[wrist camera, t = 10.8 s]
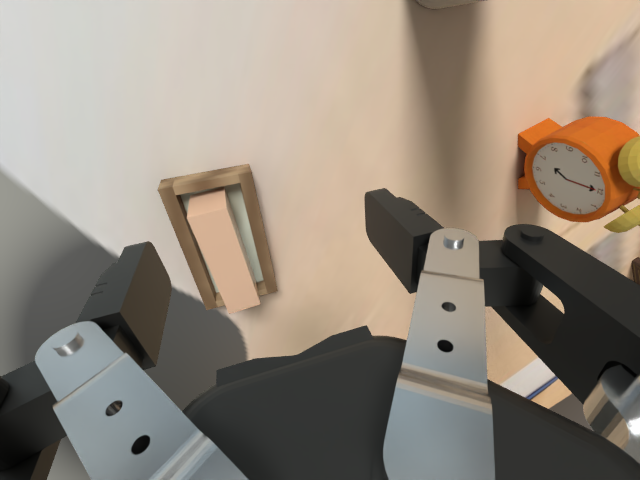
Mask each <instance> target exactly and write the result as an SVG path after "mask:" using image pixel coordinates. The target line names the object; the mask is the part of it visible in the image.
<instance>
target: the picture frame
mask: <svg viewBox="0 0 640 480" xmlns="http://www.w3.org/2000/svg"><path fill="white" fill-rule="evenodd" d="M221 187H225V190H226V193H227V196H228V199H229V202H230V205H231V207H232V210H233V213H234V216H235V219H236V222H237V225H238V228H239V231H240V234H241V237H242V240H243V243H244V245H245V248H246V251H247V254H248V257H249V260H250V263H251V266H252V269H253V272H254V275H255V279H256V284H257V289H258V294H259V296H261V295H265V294H269V293H272V292H276V291H278V290H277V285H276V281H275V276H274V272H273V267H272V263H271V258H270V254H269V249H268V245H267V240H266V236H265V231H264V227H263V222H262V218H261V213H260V209H259V204H258V199H257V195H256V190H255V186H254V181H253V177H252V172H251V169H250V166H249V164H246V165H240V166H235V167H229V168H224V169H218V170H213V171H208V172H202V173H197V174H191V175H186V176H180V177H175V178H169V179H164V180H161V182H160V185H159V188H158V191H159V194H160V196H161V199H162V201H163V204H164V206H165V209H166V211H167V214H168V216H169V218H170V221H171V223H172V226H173V228H174V231H175V233H176V236H177V238H178V241H179V243H180V246H181V248H182V250H183V253H184V255H185V258H186V260H187V263H188V265H189V268H190V270H191V273H192V275H193V278H194V280H195V282H196V285H197V287H198V290H199V292H200V295H201V297H202V300H203V302H204V305H205V307H206V309H207V310H209V309H213V308H216V307H220V306H224V305H225V303H224V301H223V299H222V296H221V294H220V292H219V290H218V287H217V285H216V283H215V281H214V278H213V276H212V274H211V272H210V269H209V267H208V265H207V263H206V260H205V258H204V256H203V253H202V251H201V249H200V247H199V244H198V242H197V240H196V238H195V235H194V233H193V231H192V229H191V226H190V224H189V222H188V220H187V213H188V206H189V199H190V195H193V194H197V193H201V192H205V191H209V190H213V189H217V188H221Z"/></svg>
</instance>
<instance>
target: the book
mask: <svg viewBox="0 0 640 480" xmlns="http://www.w3.org/2000/svg"><path fill="white" fill-rule="evenodd" d="M632 269H633V277H634V282H635V283H637V284H638V285H640V258H636V259H634V260H633V261H632Z"/></svg>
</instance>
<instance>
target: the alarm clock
mask: <svg viewBox="0 0 640 480" xmlns="http://www.w3.org/2000/svg"><path fill="white" fill-rule="evenodd" d="M518 147H519V148H520V149H521V150H523V151H524V152H525V153H526V154H527V155H526V158H525V164H524V172H525V175H524V176H522V177H520V178H519V179H518V189H530V191H531V192H532V194H533V195H534V197H535V198H536V199H537V201H538V202H539V203H540V204H541V205H542V206H543V207H544V208H546V209H547V210H548V211H550V212H551V213H553V214H554V215H556V216H558V217H560V218H563V219H566V220H569V221H573V222H589V221H593V220H597V219H600V218H602V217H604V216H606V215H607V214H609V213H611V212H613V211H615V210H617V209H618V208H620V209H621V210H622V211H623V212H624V213H625V214H623V215H621V216H620V217H618V218H616V219H615V220H613V221H611V222H610V223H608V224H607V225H605V226H604V228H606V229H608V230H610V231H612V232H617V233H620V232H625V231H628V230H630V229H632V228H633V227H635V226H637V225H639V226H640V205H639V206H637V207H635V208H633V209H632V210H630V211H629V210H628V209H627V208H626V207H624V205H626V204H628V203H630V202H631V201H633V200H635V199H636V198H638V199H640V136H639V134H638V133H637V132H635V131H634V130H632V129H631V128H629V127H628V126H626V125H625V124H624V123H622V122H619V121H616V120H613V119H610V118H607V117H586V118H582V119H579V120H576V121H573V122H571V123H570V124H568V125H566V126H564V127H561V126H560V125H558V124H557V123H555V122H554V121H553V120H551V119H550V118H548V119H546V120H544V121H542V122H540V123H538V124H536V125H535V126H533V127H531V128H529V129H527V130H525V131H523V132H521V133H519V134H518Z"/></svg>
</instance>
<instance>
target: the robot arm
mask: <svg viewBox="0 0 640 480" xmlns="http://www.w3.org/2000/svg"><path fill="white" fill-rule="evenodd" d="M416 1H417V2H418V3H419V4H421V5H423V6H424V7H426V8H431V9H440V8H446V7H452V6H457V5H464V4H469V3H475V2H480V1H486V0H416ZM365 221H366V232H367V235H368V238H369V240H370V242H371V243H372V245H373V246H374V247H375V249H376V250H377V251H378V252H379V254H380V255H381V256H382V258H383V259H384V260H385V262H386V263H387V264H388V266H389V267H390V268H391V269H392V271H393V272H394V273H395V275H396V276H397V277H398V279H399V280H400V281H401V283H402V284H403V285H404V287H405V288H406V289H407V290H408V292H409V293H410V294H411V293H414V292H417V294H416V299H415V304H414V309H413V314H412V318H411V323H410V328H409V333H408V338H407V340H404V339H400V338H396V337H389V336H372V335H371V333H370V331H369V329H368V327H367V325H366V326H362V327H359V328H356V329H352V330H349V331H346V332H342V333H339V334H336V335H332V336H330V337H329V338H327V339H325V340H323V341H321V342H320V343H318V344H316V345H314V346H313V347H311V348H309V349H307V350H305V351H304V352H302V353H300V354H298V355H294V356H282V357H269V358H256V359H252V360H249V361H246V362H243V363H239V364H236V365H232V366H229V367H226V368H222V369H219V370H217V379H216V381H217V382H216V384H215V385H213V386H212V387H210V388H209V389H207V390H206V391H204V392H203V393H201V394H200V395H199V396H198V397H196V399H194V400H193V401H192V402H191V403H190V404H189V405H188V406H187V407H186V408H185V409H184V410H183V411H181V410H180V409H179V408H178V407H177V406H176V405H175V404H174V403H173V402H172V401H171V400H170V399H169V397H168V396H167V395H166V394H165V393H164V392H163V391H162V390H161V389H160V388H159V387H158V386H157V385H156V384H155V383H154V381H152V379H151V378H150V377H149V376H148V375H147V374H146V373H145V372H144V371H143V370H144V369H148V368H151V367H155V366H156V364H157V359H158V354H159V350H160V345H161V340H162V335H163V329H164V325H165V321H166V316H167V311H168V306H169V301H170V296H171V290H172V288H171V281H170V278H169V275H168V273H167V271H166V269H165V267H164V265H163V263H162V261H161V259H160V257H159V255H158V253H157V251H156V249H155V247H154V246H153V244H152V243H151V242H144V243H139V244H135V245H131V246H126V247H125V248H124V250H123V252H122V254H121V256H120V258H119V260H118V262H117V263H115V264H112V265H111V266H110V267H109V268H108V269H107V270H106V271H105V272H104V273H103V274H102V275H101V276H100V278H99V280H98V282H97V284H96V287H95V288H94V289H93V291H92V293H91V296H90V297H89V299H88V301H87V303H86V304H85V306H84V308H83V310H82V312H81V314H80V316H79V318H78V320H77V321H76V323H75V324H73V325H70V326H68V327H66V328H64V329H62V330H60V331H58V332H57V333H55V334H54V335H53V336H51V337H50V338H49V339H48V340H47V341H45V342H44V344H43V345H42V346H41V347H40V348H39V350H38V351H37V353H36V356H35V361H33V362H31V363H29V364H27V365H25V366H23V367H21V368H18V369H16V370H14V371H12V372H10V373H8V374H6V375H3V376H0V480H47V477H48V474H49V471H50V469H51V466H52V463H53V460H54V457H55V454H56V451H57V449H58V446H59V443H60V440H61V439H62V438H64V437H65V436H68V437H69V439H70V441H71V443H72V445H73V447H74V448H75V450H76V452H77V454H78V456H79V458H80V460H81V462H82V463H83V465H84V467H85V469H86V471H87V473H88V474H89V476H90V478H91V480H640V285H638V284H637V283H635V282H634V281H632V280H630V279H629V278H627V277H625V276H624V275H622V274H620V273H619V272H617V271H616V270H614V269H612V268H611V267H609V266H607V265H606V264H604V263H602V262H601V261H599V260H598V259H596V258H594V257H593V256H591V255H589V254H588V253H586V252H584V251H583V250H581V249H580V248H578V247H576V246H575V245H573V244H571V243H570V242H568V241H566V240H565V239H563V238H562V237H560V236H558V235H557V234H555V233H553V232H552V231H550V230H548V229H545V228H543V227H540V226H535V225H528V224H518V225H513V226H510V227H508V228H507V229H506V230H505V233H504V237H503V240H492V241H478V239H477V237H476V236H475V235H473V234H472V233H470V232H468V231H465V230H462V229H457V228H444V227H442V226H441V225H440V224H439V223H437V222H436V221H435V220H434V219H432V218H431V217H430V216H429V215H428V214H425V212H424V211H423V210H421V209H419V207H418V206H416V205H415V204H414V203H413V202H412V201H409V200H406V199H404V198H401V197H398V198H396V197H395V196H394V195H393V194H391V193H390V192H389V191H388V190H387V189H385V188H383V189H378V190H374V191H370V192H366V194H365ZM543 285H544V286H545V287H546V288H547V289H549V290H550V291H551V292H552V293H554V294H555V295H556V296H557V297H558V298H559V299H560V300H561V302H562V304H563V306H564V311H565V313H564V314H563V313H562V312H561V311H560V310H558V309H557V308H556V307H555V306H554V305H553V304H551V303H550V302H549V301H548V300H547V299H545V298H544V297H543V296H542V295H541V294H540V293H541V290H542V287H543ZM485 306H491V307H492V308H493V309H494V310H495V311H496V312H497V313H498V314H499V315H500V316H501V317H502V319H503V320H504V321H505V322H506V323H507V324H508V325H509V326H510V327H511V328H512V329H513V330H514V331H515V332H516V333H517V335H518V336H519V337H520V338H521V339H522V340H523V341H524V342H525V343H526V344H527V345H528V346H529V347H530V348H531V349H532V350H533V352H534V353H535V354H536V355H537V356H538V357H539V358H540V359H541V360H542V361H543V362H544V363H545V364H546V365H547V366H548V368H549V369H550V370H551V371H552V372H553V373H554V374H555V375H556V376H557V377H558V378H559V379H560V380H561V381H562V382H563V384H564V385H565V386H566V387H567V388H568V389H569V390H570V391H571V392H572V393H573V394H574V395H575V396H576V397H577V398H578V399H579V401H581V403H582V404H583V405H584V408H583V410H584V415H585V417H586V420H587V422H588V423H589V425H590V426H591V428H592V429H593V431H592V430H590V429H588V428H585V427H584V426H582V425H579V424H578V423H576V422H574V421H571V420H569V419H567V418H565V417H563V416H561V415H559V414H557V413H555V412H553V411H551V410H549V409H547V408H545V407H543V406H541V405H539V404H537V403H535V402H533V401H531V400H529V399H527V398H525V397H523V396H521V395H519V394H517V393H515V392H512V391H510V390H508V389H506V388H504V387H502V386H500V385H498V384H496V383H494V382H492V381H490V380H488V379H487V356H486V327H485Z"/></svg>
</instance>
